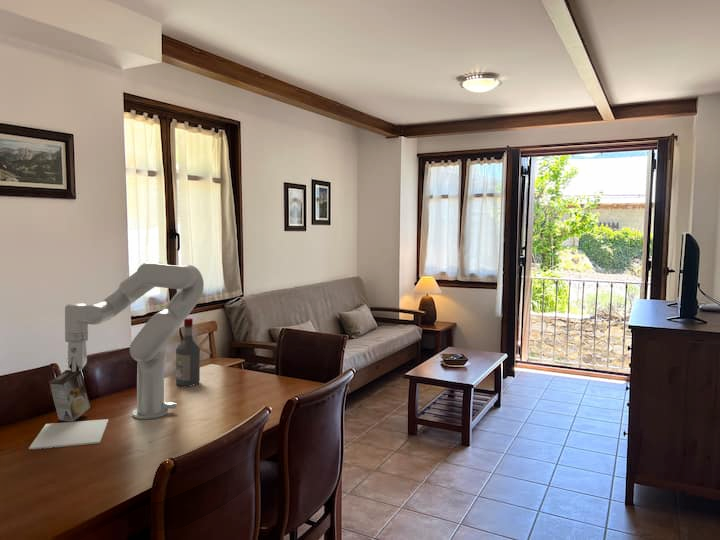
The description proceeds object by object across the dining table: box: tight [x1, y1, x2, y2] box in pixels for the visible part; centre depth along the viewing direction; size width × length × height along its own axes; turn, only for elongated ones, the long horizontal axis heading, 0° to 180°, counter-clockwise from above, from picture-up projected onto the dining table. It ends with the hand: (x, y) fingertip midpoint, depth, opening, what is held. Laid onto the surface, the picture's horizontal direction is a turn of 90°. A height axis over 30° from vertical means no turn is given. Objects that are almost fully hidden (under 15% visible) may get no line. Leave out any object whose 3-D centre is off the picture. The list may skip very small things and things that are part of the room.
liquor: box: [175, 318, 201, 387], centre depth 241 cm, size 9×9×30 cm
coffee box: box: [48, 369, 91, 422], centre depth 190 cm, size 9×6×16 cm
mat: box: [28, 418, 109, 451], centre depth 177 cm, size 20×22×1 cm
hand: (76, 385), depth 196 cm, fingers closed
